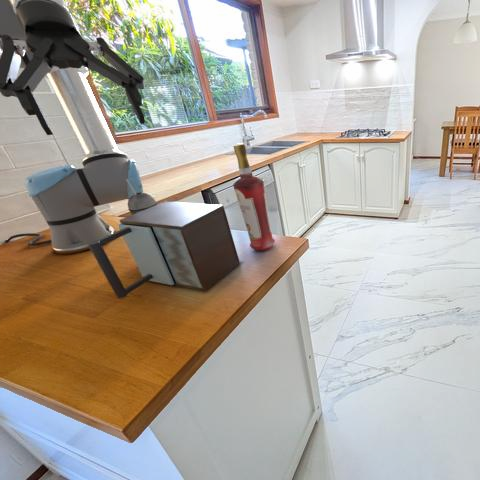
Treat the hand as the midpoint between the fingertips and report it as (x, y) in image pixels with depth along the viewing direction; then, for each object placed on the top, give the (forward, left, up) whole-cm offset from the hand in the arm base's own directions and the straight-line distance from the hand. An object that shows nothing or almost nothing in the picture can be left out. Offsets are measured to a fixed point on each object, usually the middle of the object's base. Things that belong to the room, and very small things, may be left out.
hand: (98, 125), depth 51 cm
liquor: (+12, +21, -35) cm, 43 cm away
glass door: (-3, -4, -34) cm, 35 cm away
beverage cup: (-24, +17, -35) cm, 46 cm away
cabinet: (+2, +6, -35) cm, 36 cm away
